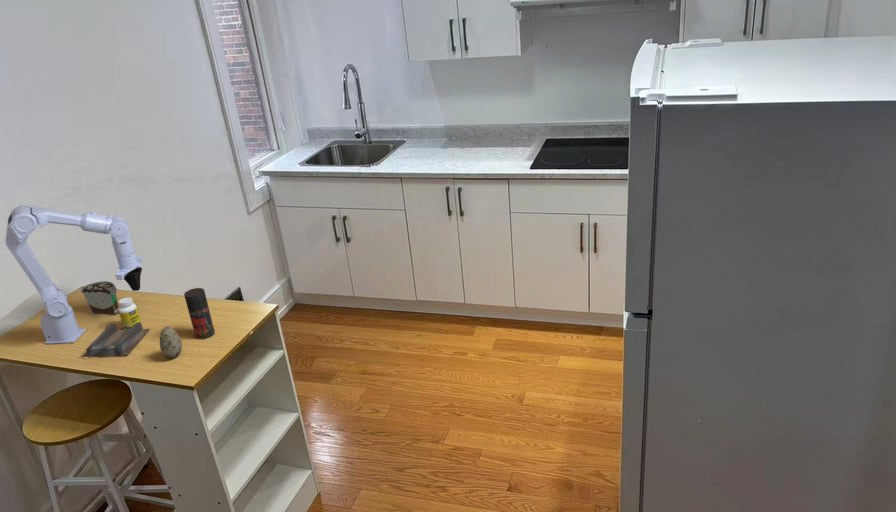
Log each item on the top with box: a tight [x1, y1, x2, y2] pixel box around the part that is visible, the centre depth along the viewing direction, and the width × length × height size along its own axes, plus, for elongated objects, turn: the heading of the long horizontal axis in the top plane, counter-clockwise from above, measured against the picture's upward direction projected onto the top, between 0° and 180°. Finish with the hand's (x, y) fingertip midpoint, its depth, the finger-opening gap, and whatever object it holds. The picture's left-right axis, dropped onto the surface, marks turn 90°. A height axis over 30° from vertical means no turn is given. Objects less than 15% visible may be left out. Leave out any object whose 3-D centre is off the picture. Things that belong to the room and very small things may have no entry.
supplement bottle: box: [118, 297, 142, 330], centre depth 215 cm, size 5×5×10 cm
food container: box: [80, 280, 119, 316], centre depth 226 cm, size 12×6×10 cm, turn 77°
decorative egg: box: [159, 326, 183, 358], centre depth 196 cm, size 6×6×10 cm
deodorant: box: [183, 287, 216, 340], centre depth 205 cm, size 6×6×15 cm
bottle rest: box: [82, 322, 150, 358], centre depth 206 cm, size 14×15×3 cm
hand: (136, 289), depth 220 cm, fingers closed
